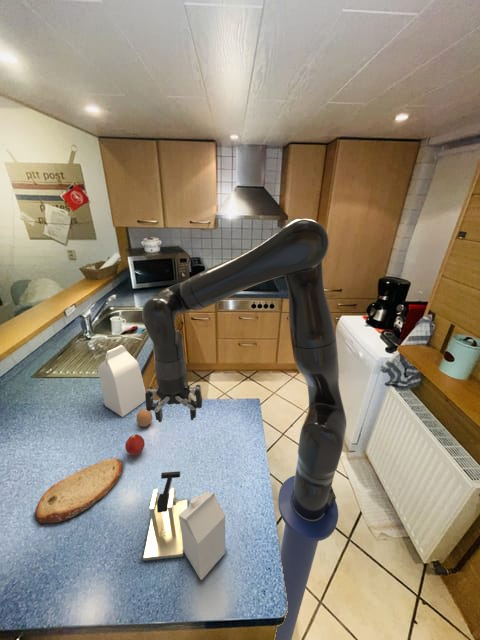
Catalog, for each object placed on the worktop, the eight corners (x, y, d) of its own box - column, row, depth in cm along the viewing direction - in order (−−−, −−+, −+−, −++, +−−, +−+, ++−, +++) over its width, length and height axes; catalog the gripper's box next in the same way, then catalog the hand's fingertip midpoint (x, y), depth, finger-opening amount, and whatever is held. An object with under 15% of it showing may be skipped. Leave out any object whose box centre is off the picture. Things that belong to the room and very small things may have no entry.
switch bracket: (154, 505, 69) (148, 474, 64) (187, 502, 70) (184, 471, 65) (143, 560, 58) (135, 529, 53) (182, 556, 59) (178, 525, 54)
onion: (124, 452, 83) (120, 435, 80) (140, 442, 87) (137, 425, 84) (131, 464, 80) (127, 446, 76) (148, 452, 84) (145, 435, 80)
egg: (154, 426, 93) (151, 412, 90) (138, 432, 91) (136, 417, 88) (151, 416, 98) (149, 403, 95) (137, 421, 95) (134, 407, 93)
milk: (122, 417, 97) (109, 360, 87) (104, 405, 103) (90, 351, 92) (147, 399, 107) (138, 346, 96) (130, 389, 112) (120, 338, 101)
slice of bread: (127, 461, 80) (125, 453, 79) (96, 526, 64) (93, 517, 63) (72, 459, 81) (69, 451, 79) (27, 523, 64) (22, 515, 63)
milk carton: (225, 553, 60) (225, 504, 52) (201, 581, 55) (196, 532, 47) (207, 527, 64) (204, 480, 57) (183, 551, 60) (176, 503, 52)
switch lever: (162, 478, 70) (162, 469, 70) (180, 476, 70) (180, 468, 70) (151, 513, 58) (150, 503, 58) (173, 511, 58) (172, 501, 58)
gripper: (200, 360, 66) (203, 407, 73) (145, 362, 65) (153, 410, 71) (199, 378, 59) (202, 428, 66) (137, 380, 58) (146, 431, 65)
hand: (176, 418), depth 69 cm, fingers open, 8 cm apart
